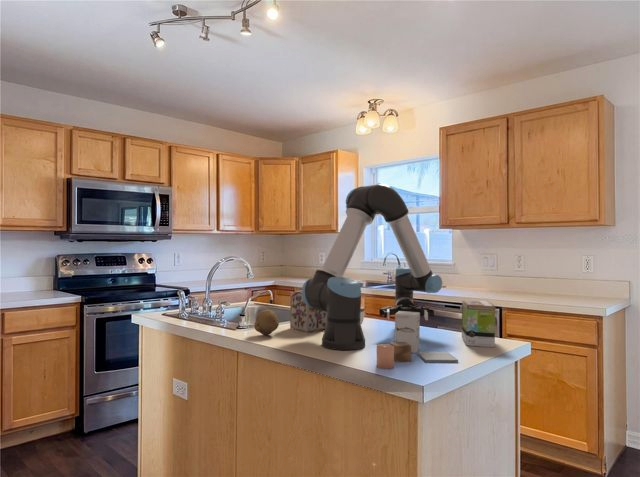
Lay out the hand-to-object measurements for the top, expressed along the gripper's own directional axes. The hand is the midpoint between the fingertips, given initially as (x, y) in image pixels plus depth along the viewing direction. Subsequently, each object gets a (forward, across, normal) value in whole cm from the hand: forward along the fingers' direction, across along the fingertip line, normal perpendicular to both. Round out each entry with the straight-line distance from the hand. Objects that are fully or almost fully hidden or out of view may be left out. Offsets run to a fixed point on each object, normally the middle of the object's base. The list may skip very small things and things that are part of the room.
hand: (407, 316), depth 160 cm
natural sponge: (-3, +53, -9) cm, 54 cm away
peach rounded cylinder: (+33, +8, -9) cm, 35 cm away
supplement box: (+10, +1, -10) cm, 14 cm away
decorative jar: (-20, +40, -10) cm, 46 cm away
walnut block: (+24, +3, -10) cm, 26 cm away
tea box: (-8, -26, -11) cm, 29 cm away
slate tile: (+20, -8, -10) cm, 24 cm away
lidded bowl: (-24, +23, -10) cm, 35 cm away
